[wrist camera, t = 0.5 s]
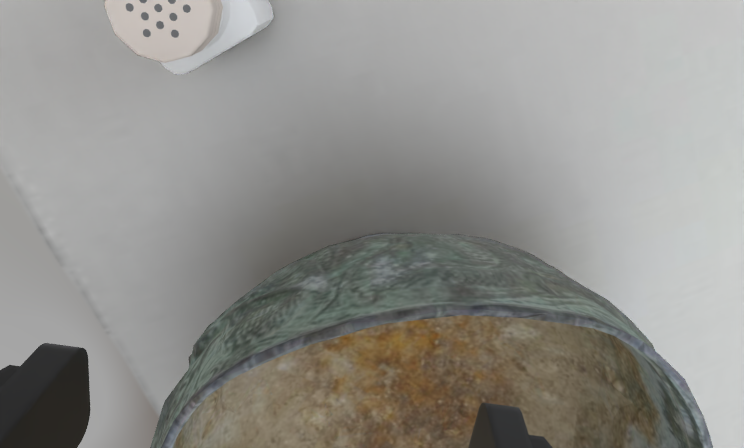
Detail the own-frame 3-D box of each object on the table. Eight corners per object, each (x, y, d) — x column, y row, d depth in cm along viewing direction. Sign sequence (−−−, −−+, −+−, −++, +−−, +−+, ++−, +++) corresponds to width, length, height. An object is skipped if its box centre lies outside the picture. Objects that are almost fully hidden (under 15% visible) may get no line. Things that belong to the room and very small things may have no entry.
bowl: (241, 471, 37) (182, 768, 23) (184, 172, 29) (45, 340, 16) (557, 444, 37) (687, 718, 23) (577, 142, 30) (783, 279, 16)
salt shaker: (280, 18, 27) (251, 35, 18) (206, 62, 28) (144, 99, 19) (231, -68, 26) (173, -95, 17) (154, -20, 26) (60, -21, 17)
